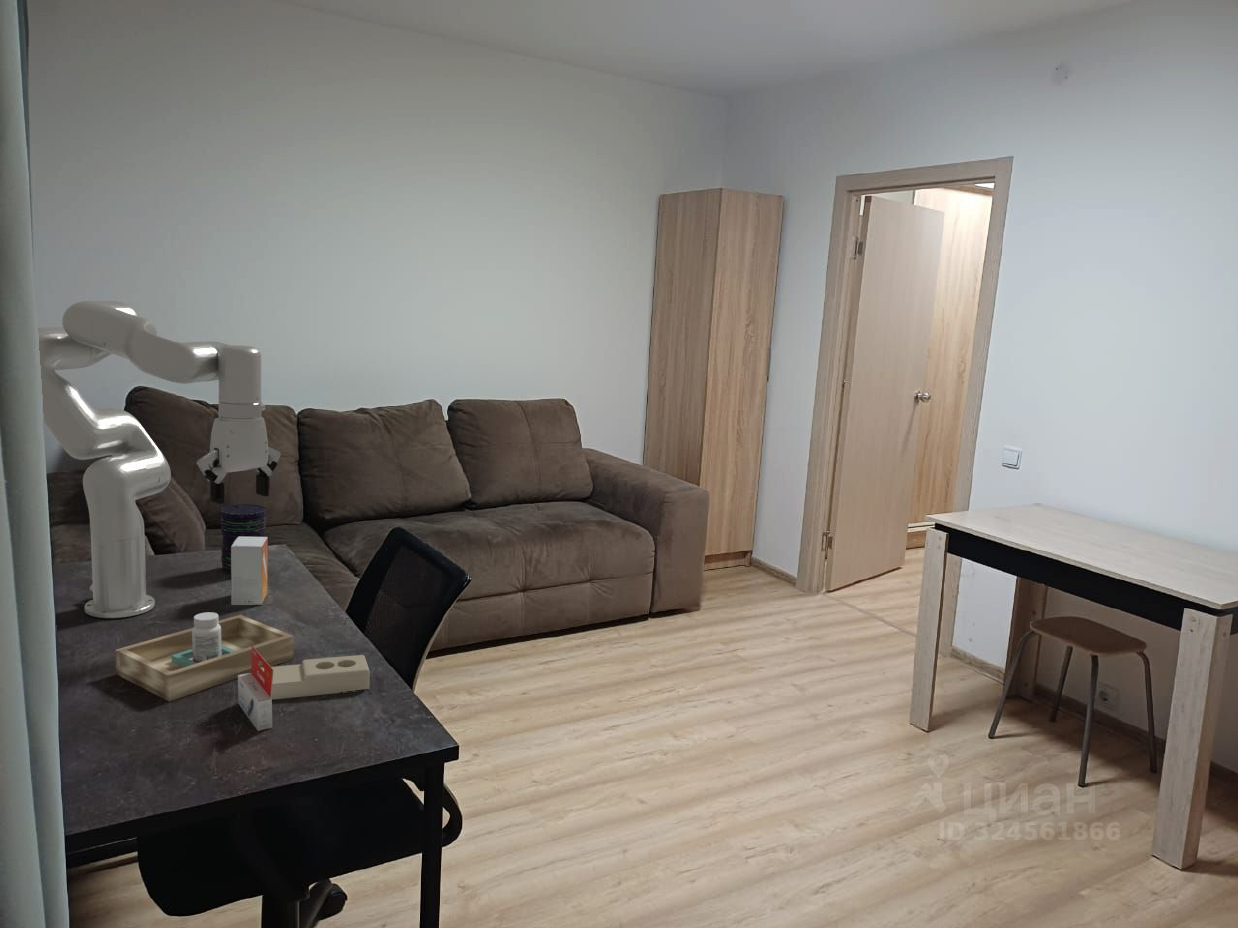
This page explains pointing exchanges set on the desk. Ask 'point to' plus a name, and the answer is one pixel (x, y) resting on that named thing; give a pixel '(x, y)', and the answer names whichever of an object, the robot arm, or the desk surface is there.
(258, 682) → the ink cartridge box
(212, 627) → the pill bottle
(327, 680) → the beige stepped holder block
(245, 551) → the small box
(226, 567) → the storage jar
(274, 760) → the desk surface
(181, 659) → the collar
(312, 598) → the desk surface
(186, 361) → the robot arm
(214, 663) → the walled box
